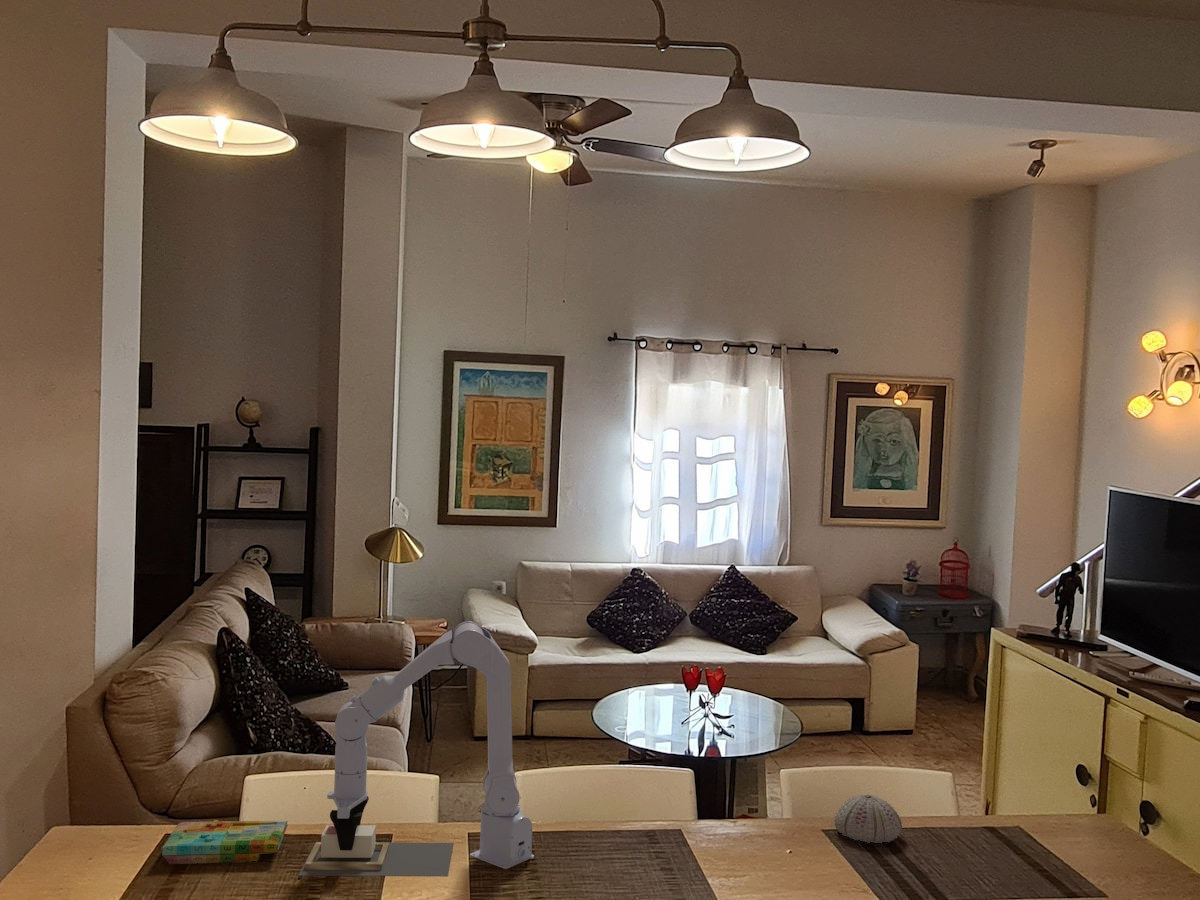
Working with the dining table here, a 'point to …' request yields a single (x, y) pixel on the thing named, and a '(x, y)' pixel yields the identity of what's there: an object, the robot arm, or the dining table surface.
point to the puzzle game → (222, 841)
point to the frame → (377, 865)
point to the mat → (396, 861)
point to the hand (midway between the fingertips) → (348, 843)
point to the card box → (361, 846)
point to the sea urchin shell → (868, 819)
